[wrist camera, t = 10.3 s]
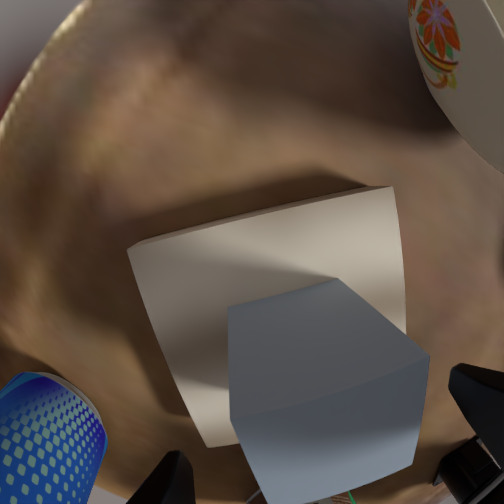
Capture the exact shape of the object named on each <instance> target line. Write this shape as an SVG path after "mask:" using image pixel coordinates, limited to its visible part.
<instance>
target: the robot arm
mask: <svg viewBox="0 0 504 504" xmlns="http://www.w3.org/2000/svg"><path fill="white" fill-rule="evenodd" d="M448 388H449V391H450V393H451V395H452V396H453V398H454V400H455V401H456V403H457V405H458V406H459V408H460V410H461V412H462V413H463V415H464V417H465V418H466V420H467V422H468V423H469V424H470V426H471V427H472V428H473V430H474V431H475V432H476V434H477V435H478V437H476V438H475V439H473V440H472V441H470V442H469V443H467V444H466V445H464V446H463V447H461V448H459V449H458V450H456V451H455V452H453V453H451V454H450V455H448V456H446V457H445V458H443V459H442V461H441V463H440V466H439V468H438V471H437V473H436V476H435V478H434V481H433V483H432V485H433V486H436V485H438V484H440V483H442V482H444V483H445V484H446V486H447V487H448V489H449V490H450V492H451V493H452V495H453V496H454V498H455V499H456V501H457V502H458V503H459V504H504V372H500V371H495V370H491V369H486V368H482V367H478V366H473V365H469V364H465V363H459V364H457V365H456V366H454V367H452V369H451V371H450V378H449V384H448ZM482 442H483V443H484V445H485V446H486V448H487V449H488V450H489V452H490V453H491V455H492V456H493V457H494V459H495V460H496V462H497V463H498V465H499V466H500V467H501V469H500V468H499V467H498V466H497V465H496V464H495V462H494V461H493V459H492V458H491V457H490V456H489V454H488V453H487V452H486V451H485V450H484V449H483V448H482V446H481V444H482ZM126 504H196V501H195V491H194V480H193V469H192V466H191V464H190V462H189V461H188V459H187V457H186V456H185V454H184V453H183V452H182V451H181V450H174V451H169V452H167V454H166V455H165V456H164V457H163V459H162V460H161V461H160V463H159V464H158V465H157V466H156V468H155V469H154V470H153V471H152V472H151V474H150V475H149V476H148V477H147V479H146V480H145V481H144V482H143V484H142V485H141V486H140V487H139V488H138V490H137V491H136V492H135V493H134V494H133V496H132V497H131V498H130V499H129V500H128V502H127V503H126Z"/></svg>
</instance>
